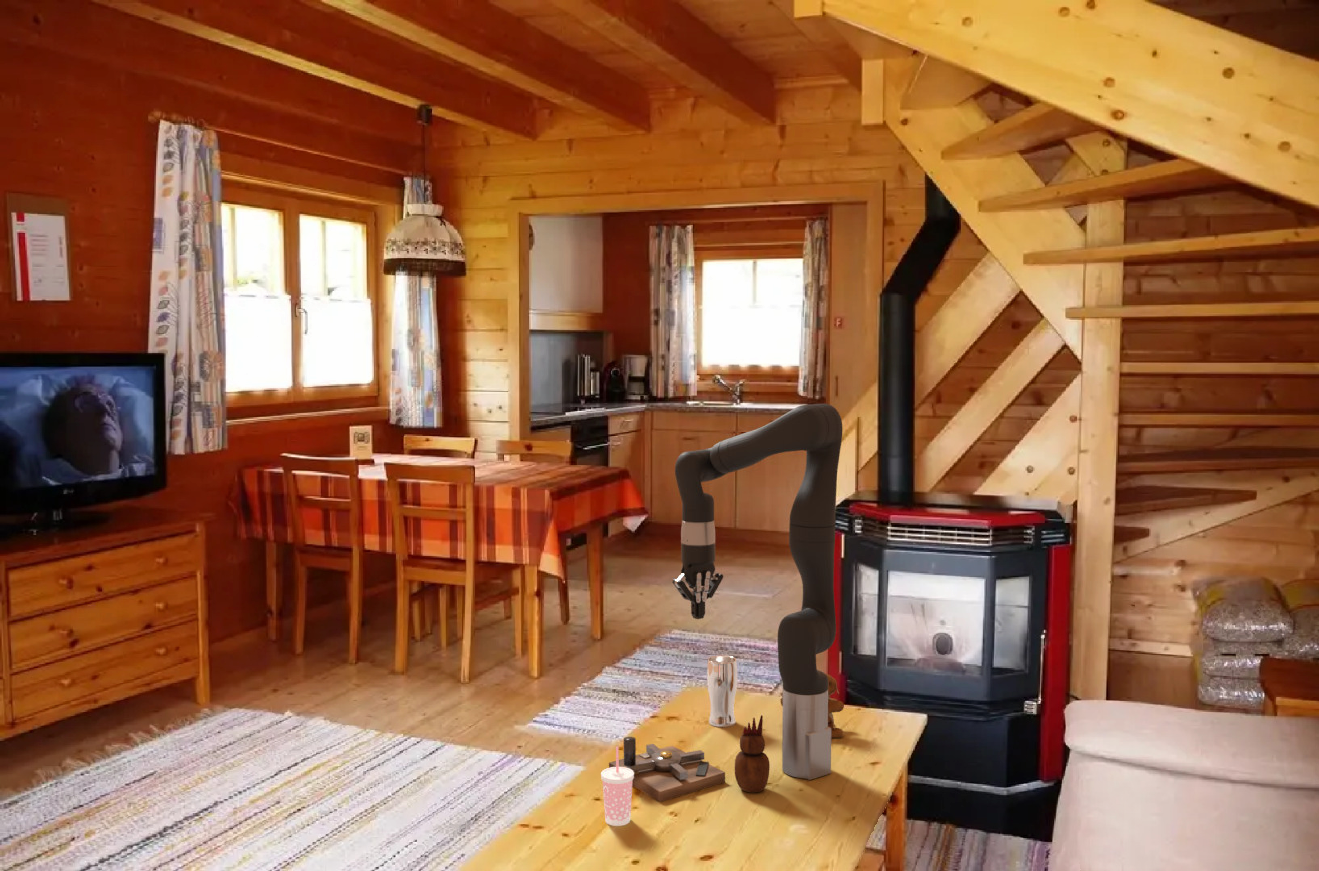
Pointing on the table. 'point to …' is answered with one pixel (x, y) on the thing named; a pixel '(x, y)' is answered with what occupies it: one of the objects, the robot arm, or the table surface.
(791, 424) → the robot arm
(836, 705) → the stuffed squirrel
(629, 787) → the beverage cup
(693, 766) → the stand
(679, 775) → the capstan
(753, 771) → the wooden figurine
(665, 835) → the table surface
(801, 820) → the table surface
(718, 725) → the beer glass
